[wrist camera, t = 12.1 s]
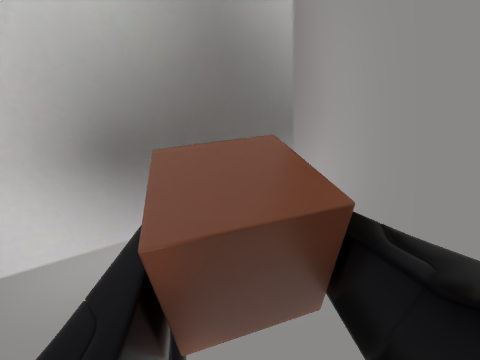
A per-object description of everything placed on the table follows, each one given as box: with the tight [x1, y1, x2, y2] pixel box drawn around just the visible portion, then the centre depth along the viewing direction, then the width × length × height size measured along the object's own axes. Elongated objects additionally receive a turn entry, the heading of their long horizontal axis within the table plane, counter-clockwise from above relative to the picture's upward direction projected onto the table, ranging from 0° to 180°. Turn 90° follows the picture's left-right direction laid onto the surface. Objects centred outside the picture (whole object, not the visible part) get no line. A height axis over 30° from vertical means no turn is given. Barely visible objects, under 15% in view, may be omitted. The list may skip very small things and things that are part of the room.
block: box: [138, 134, 355, 356], centre depth 7 cm, size 4×4×4 cm
